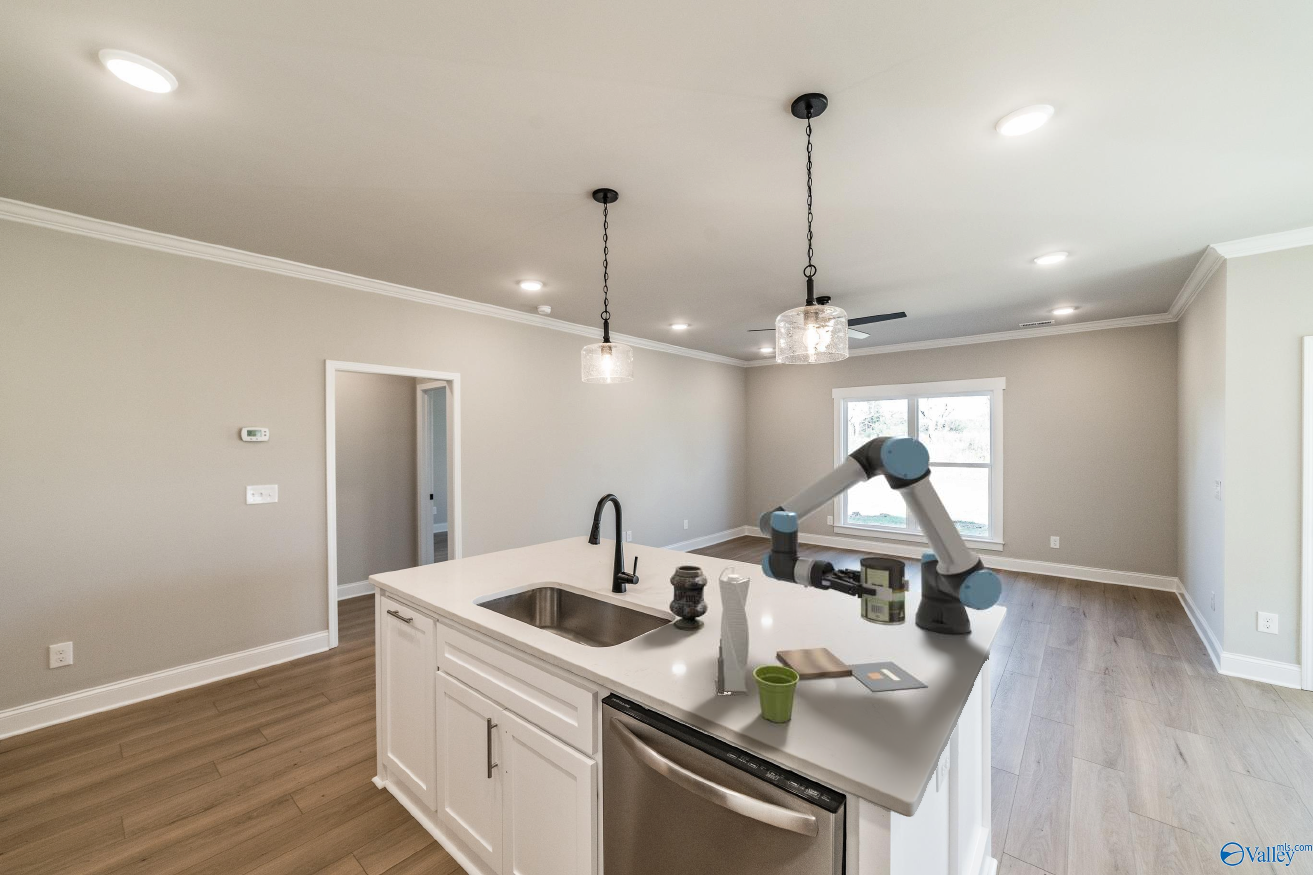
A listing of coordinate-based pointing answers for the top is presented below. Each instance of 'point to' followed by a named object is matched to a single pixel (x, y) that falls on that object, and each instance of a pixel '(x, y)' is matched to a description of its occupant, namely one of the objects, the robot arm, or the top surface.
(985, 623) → the top surface
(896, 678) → the gray tile
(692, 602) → the apothecary jar
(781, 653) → the walnut board
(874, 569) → the coffee can
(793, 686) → the plant pot
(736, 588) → the skyscraper
